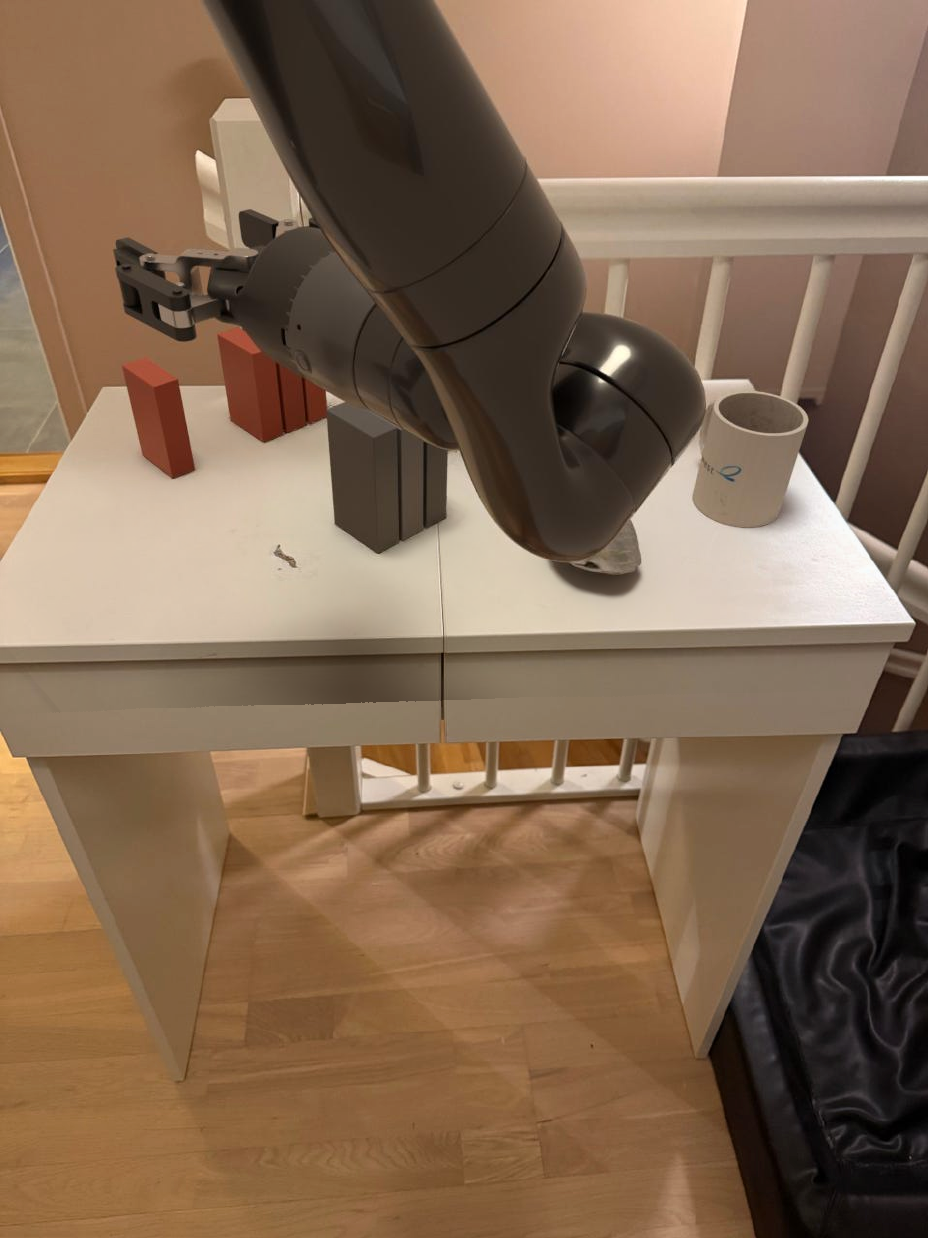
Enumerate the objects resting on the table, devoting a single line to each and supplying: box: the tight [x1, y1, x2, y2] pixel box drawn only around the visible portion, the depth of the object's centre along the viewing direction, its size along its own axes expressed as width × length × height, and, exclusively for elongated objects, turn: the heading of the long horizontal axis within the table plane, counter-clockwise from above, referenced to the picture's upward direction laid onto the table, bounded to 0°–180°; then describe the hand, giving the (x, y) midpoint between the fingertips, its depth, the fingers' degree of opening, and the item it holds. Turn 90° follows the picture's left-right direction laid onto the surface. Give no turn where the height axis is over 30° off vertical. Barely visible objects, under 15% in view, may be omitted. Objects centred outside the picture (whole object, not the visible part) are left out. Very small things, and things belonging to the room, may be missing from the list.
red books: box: [216, 326, 328, 443], centre depth 96 cm, size 9×6×10 cm
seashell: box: [568, 519, 642, 575], centre depth 81 cm, size 12×8×5 cm
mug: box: [692, 390, 809, 528], centre depth 88 cm, size 12×9×10 cm
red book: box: [121, 357, 196, 479], centre depth 89 cm, size 3×6×10 cm, turn 44°
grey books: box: [326, 401, 449, 554], centre depth 82 cm, size 9×6×12 cm
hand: (186, 240), depth 56 cm, fingers open, 8 cm apart
